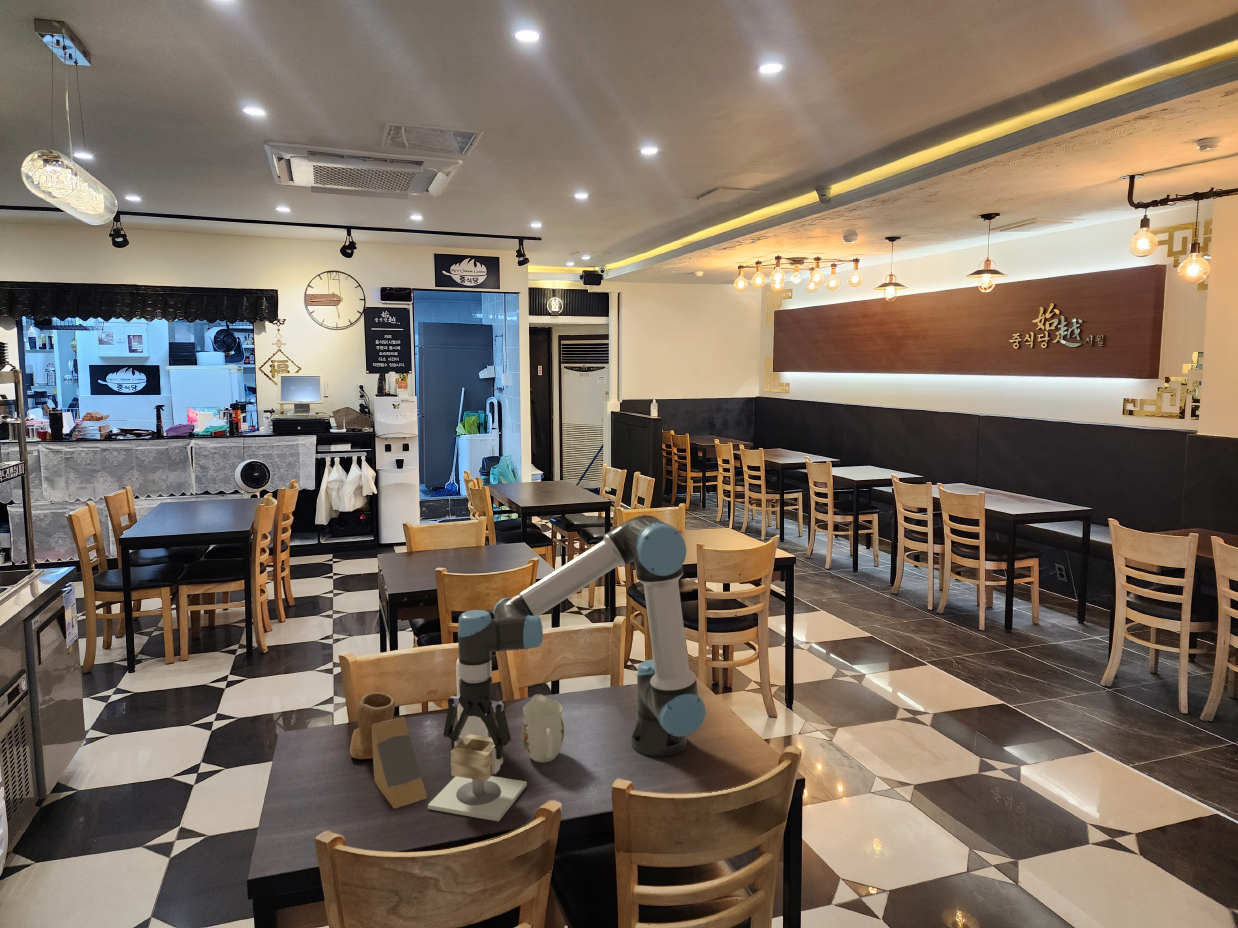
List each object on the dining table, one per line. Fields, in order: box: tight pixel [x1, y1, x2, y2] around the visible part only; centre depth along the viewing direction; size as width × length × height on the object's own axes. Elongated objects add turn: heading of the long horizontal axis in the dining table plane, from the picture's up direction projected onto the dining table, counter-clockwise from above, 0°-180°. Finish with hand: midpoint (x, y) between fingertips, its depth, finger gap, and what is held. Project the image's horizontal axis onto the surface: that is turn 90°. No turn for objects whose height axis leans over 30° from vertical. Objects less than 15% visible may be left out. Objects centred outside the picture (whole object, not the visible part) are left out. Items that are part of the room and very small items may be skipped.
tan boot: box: [349, 691, 396, 760], centre depth 211 cm, size 15×12×15 cm
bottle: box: [455, 657, 489, 739], centre depth 214 cm, size 8×8×28 cm
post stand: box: [427, 775, 528, 822], centre depth 187 cm, size 18×16×10 cm
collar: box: [450, 734, 504, 781], centre depth 187 cm, size 9×9×6 cm
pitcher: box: [521, 693, 565, 763], centre depth 206 cm, size 11×18×14 cm, turn 16°
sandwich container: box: [372, 716, 428, 809], centre depth 191 cm, size 9×15×15 cm, turn 34°
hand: (477, 767), depth 187 cm, fingers closed on collar, 9 cm apart
